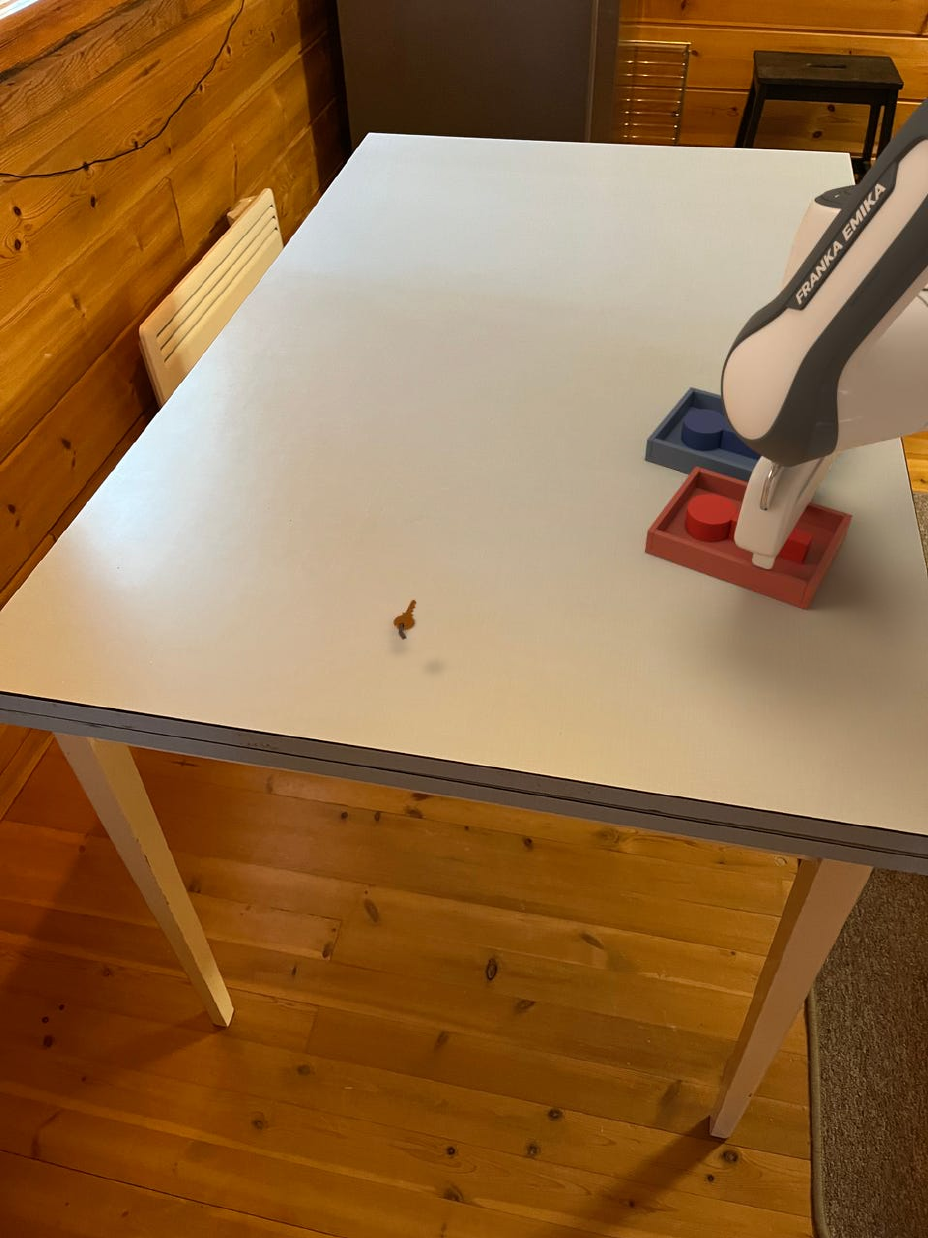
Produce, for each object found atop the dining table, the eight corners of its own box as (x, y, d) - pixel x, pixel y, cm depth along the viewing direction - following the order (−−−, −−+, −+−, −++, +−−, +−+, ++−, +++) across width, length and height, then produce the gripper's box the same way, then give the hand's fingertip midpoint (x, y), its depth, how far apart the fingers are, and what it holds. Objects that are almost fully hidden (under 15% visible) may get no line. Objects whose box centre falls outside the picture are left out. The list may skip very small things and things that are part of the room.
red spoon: (812, 545, 85) (819, 525, 83) (796, 574, 82) (802, 554, 80) (695, 506, 89) (699, 486, 88) (677, 532, 87) (680, 512, 85)
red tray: (845, 536, 86) (852, 514, 84) (806, 610, 80) (813, 588, 78) (692, 487, 92) (695, 465, 91) (644, 551, 86) (647, 530, 84)
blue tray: (825, 446, 96) (831, 425, 94) (788, 505, 90) (794, 484, 88) (687, 407, 102) (690, 386, 100) (644, 460, 96) (646, 439, 94)
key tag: (436, 666, 77) (436, 662, 77) (402, 674, 77) (401, 669, 77) (415, 600, 83) (415, 595, 83) (383, 607, 83) (382, 602, 82)
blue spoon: (795, 453, 95) (801, 433, 93) (781, 476, 92) (786, 456, 90) (690, 422, 99) (694, 403, 97) (674, 443, 97) (677, 423, 95)
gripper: (814, 479, 66) (777, 616, 76) (892, 349, 78) (851, 482, 87) (729, 453, 68) (703, 589, 78) (817, 332, 80) (785, 463, 90)
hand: (782, 532), depth 83 cm, fingers open, 8 cm apart
